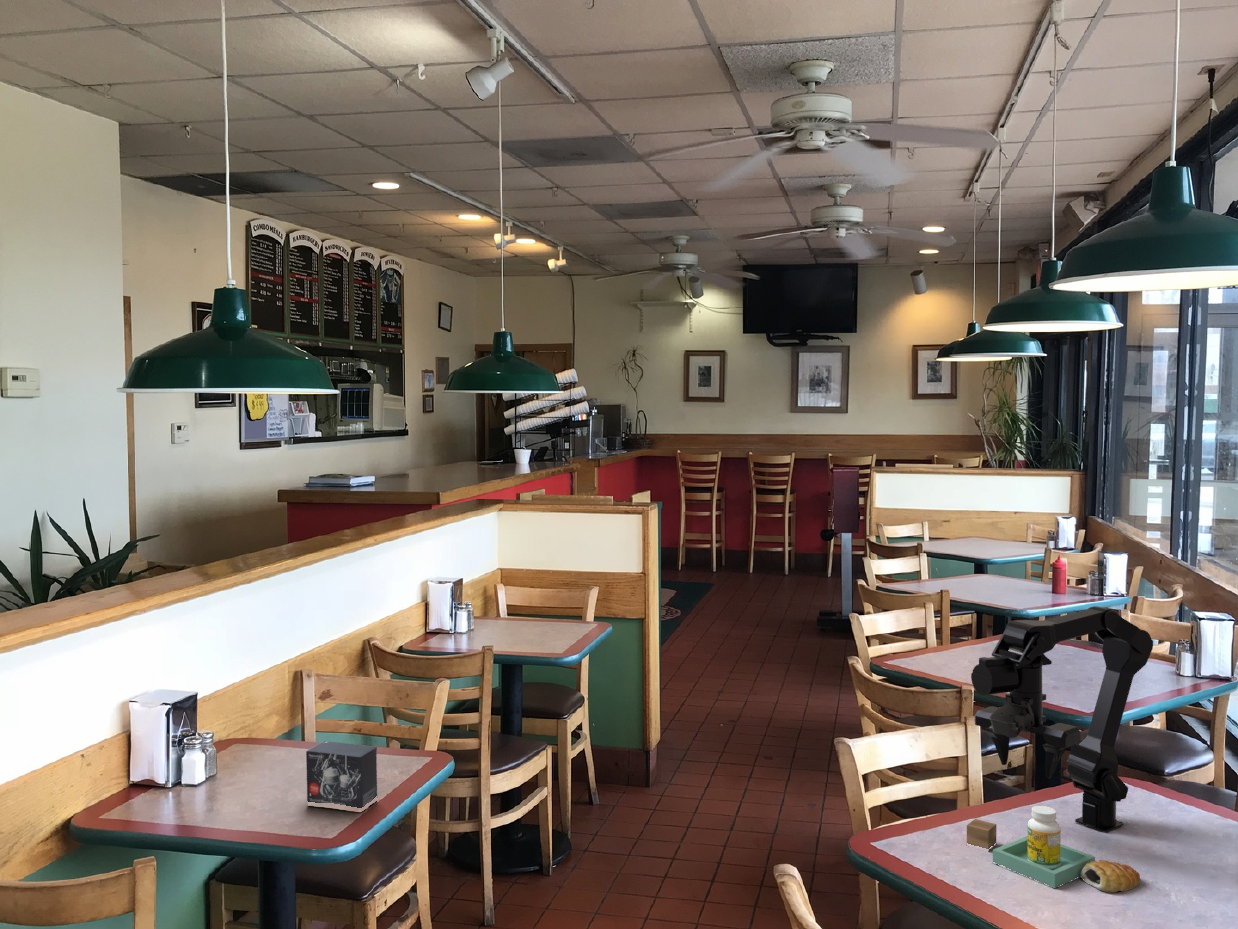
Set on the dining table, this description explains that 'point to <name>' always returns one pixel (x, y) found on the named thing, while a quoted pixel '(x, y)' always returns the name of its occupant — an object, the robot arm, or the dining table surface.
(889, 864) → the dining table surface
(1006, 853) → the tray
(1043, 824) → the supplement bottle
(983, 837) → the walnut block
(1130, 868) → the pastry
